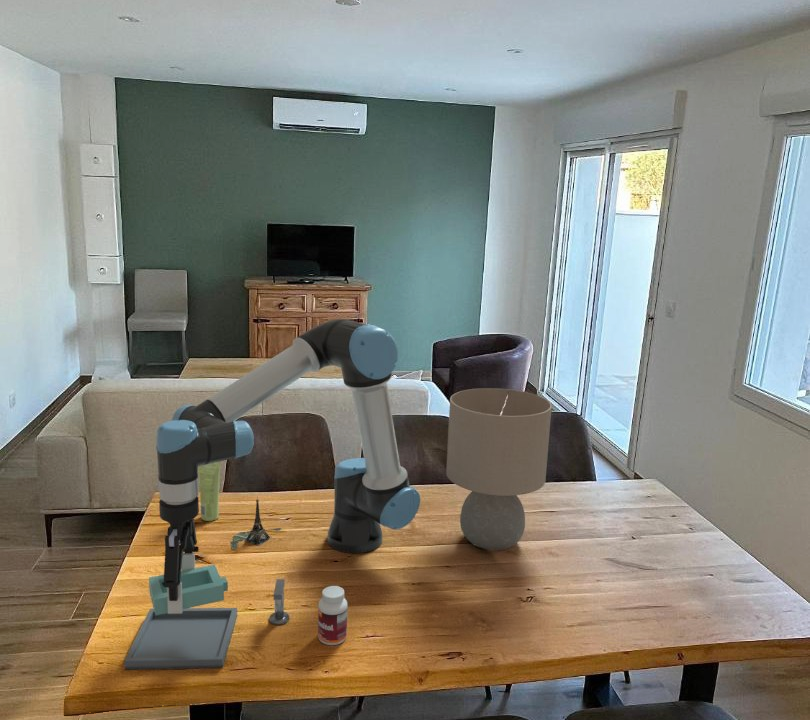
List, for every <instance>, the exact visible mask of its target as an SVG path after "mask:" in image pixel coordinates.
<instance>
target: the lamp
mask: <svg viewBox="0 0 810 720" xmlns="http://www.w3.org/2000/svg"><path fill="white" fill-rule="evenodd" d="M552 408H553V407H552V403H551V402H550V401H549V400H548V399H547V398H544V397H542V396H540V395H537V394H535V393H530V392H527V391H523V390H518V389H517V390H516V389H507V388H497V387H495V388H488V387H487V388H486V387H485V388H481V387H480V388H472V389H465V390H461V391H458V392H456V393H454V394H452V395H451V396H450V397H449V410H448V411H449V413H448V414H449V415H448V429H447V430H448V431H447V435H448V436H447V453H446V471H445V472H446V477H447V478H448V480H449V481H450V482H451V483H453V484H454V485H456V486H458V487H460V488H462V489H465V490H467V491H470V492H469V494H468V495H466V498H465V499H464V502H463V504H462V507H461V511H460V515H459V523H460V529H461V532H462V535H464V537H465V538H466V540H468V541H469V543H471V544H473V545H474V546H476V547H477V548H480V549H483V550H488V551H502V550H506V549H510V548H512V547H513V546H515V545H516V544H517V543H519V541H521V539H522V538H523V535H524V532H525V528H526V513H525V509H524V506H523V503H522V501H521V499H520V498H519V497H518V496H521V495H527V494H530V493H533V492H536V491H538V490H540V489H542V488H543V487H544V486H545V484H546V478H547V476H546V475H547V464H548V452H549V440H550V430H551V418H552Z"/></svg>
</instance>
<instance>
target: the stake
mask: <svg viewBox="0 0 810 720" xmlns="http://www.w3.org/2000/svg"><path fill="white" fill-rule="evenodd" d="M285 581H286V580H285V578H276V582H275V586H274V589H273V596H272V597H273V600H274V612H273V613H270V615H269V617H268V618H269V619H268V620H269V622H270V624H271V625H275V626H281V625H285V624H287V623H288V622H289V620H290V614H289V613H288V612H285V591H284V590H285V585H286V583H285Z"/></svg>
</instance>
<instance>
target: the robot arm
mask: <svg viewBox="0 0 810 720" xmlns="http://www.w3.org/2000/svg"><path fill="white" fill-rule="evenodd" d="M398 359H399V349H398V344H397V342H396V340H395V339H394V337H393V336H392V334H391V333H389V331H387V330H386V329H383V328H382V327H379V326H377V325H374V324H366V323H362V322H357V321H354V320H350V319H346V318H337V319H335V318H334V319H331V320H328V321H325V322H323V323H320V324H317V325H316V326H314V327H312V328H310V329H309V330H307V331H305V332H303V333H302V334H300V335H298V336H297V337H295V338H294V339H293V341H292V345H291V346H288V347H287V348H285V350H282V352H280V353H278V354H277V355H275V356H273V357H272V358H270V359H268V360H267V361H265V362H264V363H263V364H261V365H259V366H257V367H256V368H254V369H253V370H251V371H250V372H248V373H247V374H245V375H243V376H242V377H240V378H239V379H237V380H236V381H234V382H233V383H231V384H229V385H228V386H226V387H225V388H222V389H221V390H220V391H218V392H216V393H215V394H214V395H212V396H210V397H209V398H207V399H206V400H204V401H202V402H201V403H199V404H198V405H193V404H187V405H183V406H180V407H179V408H178V409H176V411H175V412H174V414H173V415H172V419H171V420H169V421H166V422H163V423H162V424H160V425H159V426H158V428H157V432H156V445H155V449H156V455H157V457H156V458H157V472H158V475H157V476H158V481H156V482H155V486H156V487H158V488H159V489H158V495H159V496H158V498H159V501H158V507H159V518H160V519H161V520H162V521H164V522H166V523H168V524H169V526H168V527H167V533H166V535H165V537H164V544H165V545H164V546H165V549H164V566H163V567H164V569H163V570H164V571H163V575H164V582H162V586H163V587H167V603H168V614H182V612H183V605H182V582H180V577H181V571H184V570H189V569H194V568H196V554H195V553H199V547H200V546H198V545H197V544H198V540H197V533H196V526H195V518H196V517H198V515H199V510H200V506H199V497H198V496H199V493H200V490H199V466H202V465H206V464H210V463H215V462H220V461H221V462H222V461H223V462H224V461H228V460H232V459H234V460H237V458H241V457H244V456H248V455H249V454H250V453H251V452H252V450H253V448H254V445H255V440H254V439H255V438H254V432H253V429H252V427H251V426H250V424H249V423H248V422H247V421H245V420H238V419H240V418H242V417H243V416H244V415H246V414H247V413H249V412H250V411H252V410H253V409H255V408H256V407H258V406H260V405H261V404H263V403H264V402H266V401H267V400H269V399H270V398H271V397H273V396H274V395H276V394H278V393H279V392H280V391H283V390H284V389H285V388H287V387H289V386H290V385H291V384H292V383H294V382H296V381H297V380H299V379H300V378H302V377H303V376H304V375H307V374H308V373H310V372H311V373H317V372H319V371H320V370H321V369H323V368H325V367H330V366H331V367H332V366H334V367H338V368H339V369H341V373H342V379H343V384H344V386H345V387H347V388H349V389H351V393H352V399H353V403H354V409H355V416H356V420H357V424H358V426H357V427H358V430H359V436H360V443H361V447H362V452H363V457H359V458H358V457H355V458H350V459H344V460H342V461H340V462H338V463H337V464H336V466H335V468H334V476H333V478H334V506H333V507H334V512H333V517H332V518H331V522H330V525H329V528H328V530H327V544H328V545H329V546H330V547H331V548H333V549H334V550H336V551H339V552H342V553H346V554H347V553H348V554H362V553H369V552H371V551H374V550H376V549H378V548H379V547H380V546H381V545H382V543H383V530H382V526H383V527H386V528H388V529H391V530H401V529H403V528H405V527H406V526H408V525H409V524H410V523H411V522H412V521H413V519H414V518H415V517H416V515H417V513H418V512H419V509H420V505H421V495H420V493H419V491H418V490H417V489H416V488H415V487H413V486H410V482H409V477H408V471H407V470H406V468H405V467H403V466H401V463H400V457H399V450H398V445H397V439H396V438H397V437H396V432H395V427H394V420H393V414H392V413H393V412H392V407H391V402H390V394H389V389H388V382H389V381H390V380H391V379H392V377H393V374H392V373H393V371H394V370H395V368H396V365H395V364H396V363H397V362H398ZM221 462H220V463H221ZM196 545H197V546H196Z"/></svg>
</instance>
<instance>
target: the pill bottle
mask: <svg viewBox="0 0 810 720" xmlns="http://www.w3.org/2000/svg"><path fill="white" fill-rule="evenodd" d="M317 607H318V610H317V612H318V614H317V615H318V616H317V618H318V619H317V620H318V622H317V626H318V627H317V638H318V640H319V641H320V643H322V644H324V645H327V646H337V645H340V644H342V643H343V642H345V641H346V639H347V635H348V601H347V599H346V597H345V590H344V588H343V587H340V586H339V585H330V586H327V587H325V588H324V589H322V591H321V599H320V600H319V601H318V606H317Z"/></svg>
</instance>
